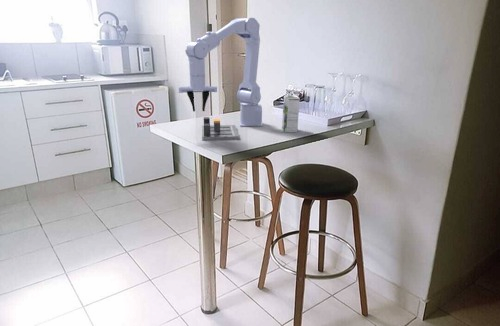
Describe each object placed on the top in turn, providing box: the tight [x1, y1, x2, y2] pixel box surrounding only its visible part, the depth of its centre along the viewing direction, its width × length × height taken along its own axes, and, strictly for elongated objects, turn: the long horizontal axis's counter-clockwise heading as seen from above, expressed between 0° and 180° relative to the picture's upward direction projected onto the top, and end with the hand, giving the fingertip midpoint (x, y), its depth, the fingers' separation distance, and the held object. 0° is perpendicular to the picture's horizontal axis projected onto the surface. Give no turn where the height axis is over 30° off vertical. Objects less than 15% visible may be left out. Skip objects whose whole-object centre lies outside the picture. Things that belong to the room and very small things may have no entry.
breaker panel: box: [201, 116, 240, 141], centre depth 145 cm, size 14×18×5 cm
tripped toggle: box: [213, 118, 221, 131], centre depth 144 cm, size 2×3×4 cm
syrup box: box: [281, 94, 301, 133], centre depth 149 cm, size 6×6×14 cm
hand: (198, 110), depth 141 cm, fingers open, 3 cm apart
